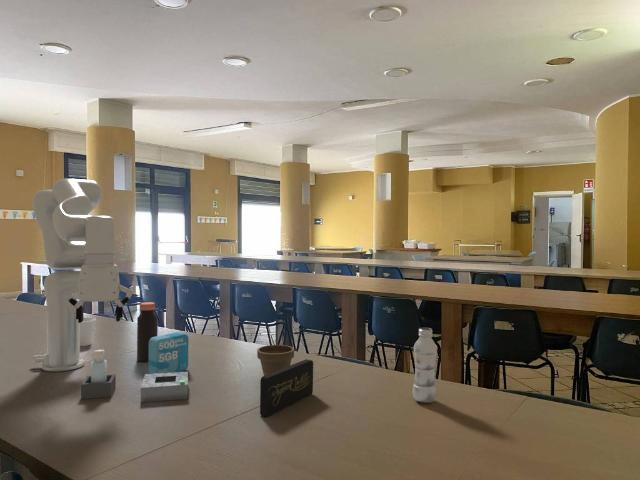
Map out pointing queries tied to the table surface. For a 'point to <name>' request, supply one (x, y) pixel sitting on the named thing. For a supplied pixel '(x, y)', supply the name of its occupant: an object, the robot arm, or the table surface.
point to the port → (164, 387)
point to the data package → (168, 353)
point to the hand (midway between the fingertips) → (99, 321)
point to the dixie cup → (86, 331)
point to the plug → (99, 367)
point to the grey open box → (98, 388)
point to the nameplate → (285, 387)
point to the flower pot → (275, 357)
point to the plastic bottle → (424, 367)
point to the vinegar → (146, 330)
